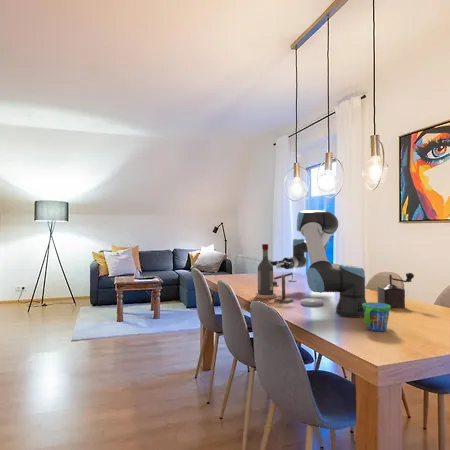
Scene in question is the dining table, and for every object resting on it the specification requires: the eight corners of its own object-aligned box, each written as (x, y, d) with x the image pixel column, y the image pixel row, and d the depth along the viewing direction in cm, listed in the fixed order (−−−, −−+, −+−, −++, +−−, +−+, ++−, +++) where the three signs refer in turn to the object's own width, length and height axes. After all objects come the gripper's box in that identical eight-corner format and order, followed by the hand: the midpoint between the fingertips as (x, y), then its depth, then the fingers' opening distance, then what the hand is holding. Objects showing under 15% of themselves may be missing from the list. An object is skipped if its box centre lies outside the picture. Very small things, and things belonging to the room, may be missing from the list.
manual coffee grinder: (385, 308, 184) (385, 273, 185) (376, 303, 196) (376, 270, 196) (416, 308, 184) (415, 273, 185) (405, 303, 195) (404, 270, 196)
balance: (298, 301, 202) (298, 272, 202) (294, 303, 197) (293, 273, 197) (273, 299, 211) (273, 270, 211) (269, 300, 206) (268, 271, 206)
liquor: (257, 295, 213) (257, 244, 213) (258, 292, 222) (258, 243, 222) (273, 295, 212) (272, 244, 212) (273, 292, 221) (272, 243, 221)
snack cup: (376, 323, 155) (376, 300, 155) (399, 329, 147) (399, 304, 147) (353, 329, 147) (353, 304, 147) (376, 336, 138) (376, 309, 138)
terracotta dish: (278, 296, 219) (278, 293, 219) (270, 299, 209) (270, 296, 209) (261, 294, 225) (261, 291, 225) (252, 297, 215) (252, 294, 215)
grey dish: (326, 303, 197) (326, 299, 197) (319, 307, 187) (319, 303, 187) (305, 301, 204) (305, 297, 204) (297, 305, 194) (297, 301, 194)
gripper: (305, 270, 224) (284, 273, 210) (274, 267, 243) (253, 269, 228) (305, 258, 224) (284, 260, 210) (274, 256, 243) (253, 258, 228)
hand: (268, 265), depth 219 cm, fingers open, 13 cm apart
